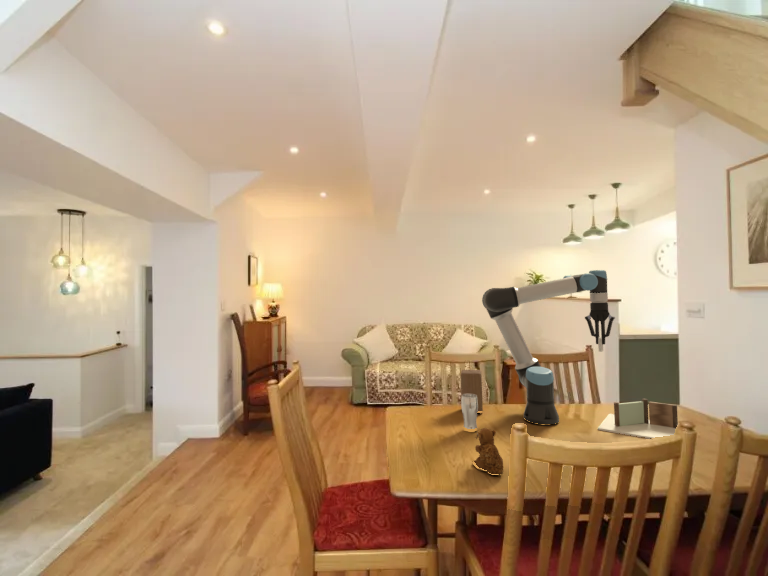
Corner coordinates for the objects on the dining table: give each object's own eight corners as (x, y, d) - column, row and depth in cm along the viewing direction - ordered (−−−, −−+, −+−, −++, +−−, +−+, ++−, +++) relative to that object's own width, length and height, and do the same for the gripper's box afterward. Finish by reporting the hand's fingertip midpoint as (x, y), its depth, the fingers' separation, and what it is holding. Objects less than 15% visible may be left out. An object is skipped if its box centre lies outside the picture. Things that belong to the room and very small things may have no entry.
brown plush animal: (498, 461, 137) (497, 423, 137) (512, 480, 123) (511, 438, 123) (470, 462, 137) (469, 424, 137) (480, 481, 123) (479, 439, 123)
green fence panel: (617, 426, 165) (616, 403, 165) (613, 424, 166) (612, 402, 167) (644, 423, 167) (643, 400, 167) (641, 421, 169) (640, 399, 169)
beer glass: (465, 426, 173) (464, 392, 173) (480, 429, 170) (479, 394, 170) (459, 431, 167) (458, 396, 167) (475, 434, 164) (474, 398, 164)
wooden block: (461, 413, 192) (460, 373, 192) (462, 408, 201) (461, 369, 202) (482, 414, 189) (481, 373, 190) (482, 408, 199) (481, 369, 199)
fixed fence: (642, 425, 168) (641, 399, 168) (643, 423, 170) (642, 398, 170) (677, 430, 160) (676, 403, 161) (678, 429, 162) (677, 402, 162)
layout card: (597, 429, 164) (597, 427, 164) (609, 415, 183) (609, 413, 183) (677, 443, 147) (677, 441, 147) (681, 426, 165) (681, 424, 165)
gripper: (615, 301, 187) (618, 351, 186) (586, 302, 195) (587, 349, 195) (612, 302, 181) (615, 353, 180) (582, 302, 189) (584, 351, 189)
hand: (600, 351), depth 187 cm, fingers closed
